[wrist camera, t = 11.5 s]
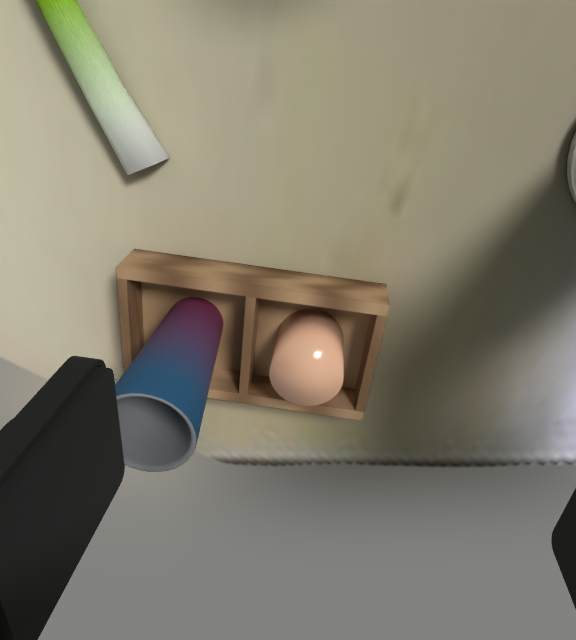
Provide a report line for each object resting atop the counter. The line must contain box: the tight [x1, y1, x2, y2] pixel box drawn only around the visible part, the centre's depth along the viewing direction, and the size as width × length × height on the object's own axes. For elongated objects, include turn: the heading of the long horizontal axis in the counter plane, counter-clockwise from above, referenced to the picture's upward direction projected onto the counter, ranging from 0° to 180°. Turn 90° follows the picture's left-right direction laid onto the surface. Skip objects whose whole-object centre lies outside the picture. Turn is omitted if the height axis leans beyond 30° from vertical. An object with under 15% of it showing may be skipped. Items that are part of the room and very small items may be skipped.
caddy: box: [116, 249, 390, 420], centre depth 44 cm, size 22×12×4 cm, turn 84°
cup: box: [115, 297, 223, 472], centre depth 39 cm, size 7×7×15 cm
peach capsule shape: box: [269, 309, 344, 406], centre depth 42 cm, size 6×6×6 cm
